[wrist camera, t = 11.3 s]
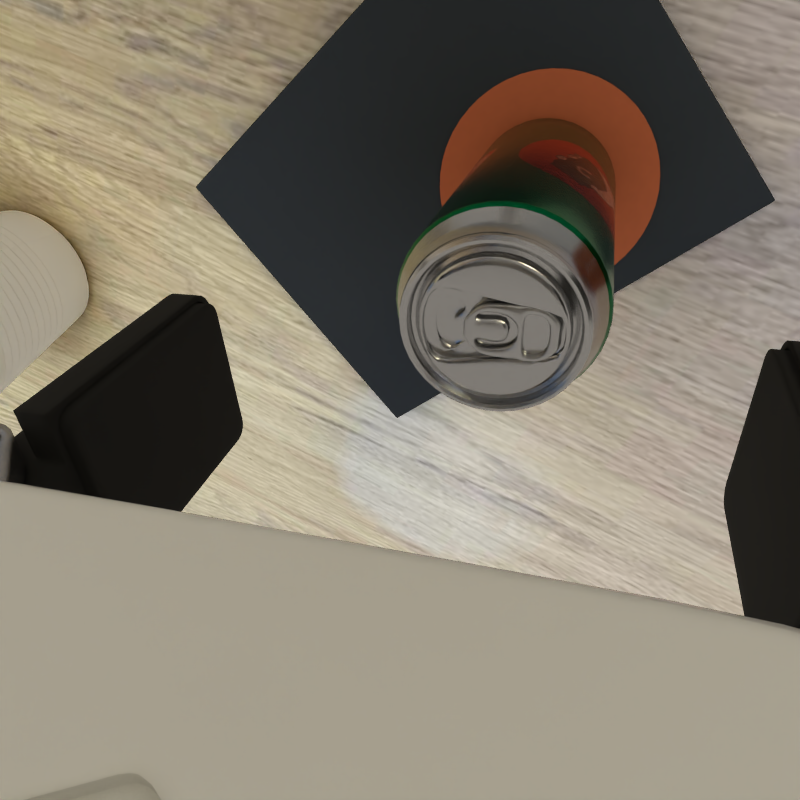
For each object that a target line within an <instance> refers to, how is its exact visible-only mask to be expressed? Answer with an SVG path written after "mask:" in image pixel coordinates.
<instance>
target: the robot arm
mask: <svg viewBox="0 0 800 800" xmlns="http://www.w3.org/2000/svg"><path fill="white" fill-rule="evenodd" d="M13 411H14V413H15V415H16V417H17V419H18V421H19V424H20V426H21V428H22V430H23V431H21V432H20V433H19V434H18V435H16V436H15V437H14V435H13V433H12V431H11V429H10V428H8V427H7V426H6V425H4V424H0V800H800V342H798V341H786V342H785V343H784V344H783V346H782V348H781V350H777V349H770V350H769V351H768V352H767V354H766V356H765V359H764V362H763V365H762V369H761V372H760V375H759V378H758V382H757V385H756V388H755V391H754V395H753V398H752V401H751V404H750V408H749V411H748V414H747V418H746V421H745V424H744V427H743V431H742V434H741V437H740V440H739V444H738V447H737V450H736V453H735V457H734V460H733V463H732V467H731V470H730V473H729V476H728V480H727V483H726V487H725V493H724V509H725V514H726V519H727V525H728V530H729V535H730V541H731V546H732V552H733V557H734V562H735V568H736V573H737V578H738V584H739V589H740V594H741V600H742V605H743V610H744V616H741V615H736V614H732V613H727V612H722V611H718V610H713V609H708V608H704V607H699V606H694V605H689V604H685V603H680V602H675V601H671V600H665V599H660V598H655V597H649V596H644V595H638V594H633V593H627V592H622V591H617V590H611V589H606V588H600V587H595V586H589V585H584V584H579V583H573V582H568V581H562V580H557V579H551V578H546V577H541V576H535V575H530V574H524V573H519V572H513V571H508V570H503V569H497V568H492V567H486V566H481V565H475V564H470V563H465V562H459V561H453V560H448V559H442V558H437V557H431V556H425V555H420V554H414V553H409V552H403V551H397V550H392V549H386V548H381V547H375V546H369V545H364V544H358V543H353V542H347V541H341V540H336V539H330V538H325V537H319V536H314V535H308V534H302V533H297V532H291V531H286V530H280V529H274V528H269V527H263V526H258V525H252V524H247V523H241V522H235V521H230V520H224V519H219V518H213V517H208V516H202V515H196V514H191V513H185V512H181V511H182V510H183V509H184V507H185V506H186V505H187V504H188V502H189V501H190V500H191V499H192V497H193V496H194V495H195V493H196V492H197V491H198V490H199V488H200V487H201V486H202V485H203V483H204V482H205V481H206V480H207V478H208V477H209V476H210V475H211V473H212V472H213V471H214V470H215V468H216V467H217V466H218V465H219V463H220V462H221V461H222V460H223V458H224V457H225V456H226V455H227V453H228V452H229V451H230V450H231V448H232V447H233V446H234V445H235V443H236V442H237V441H238V439H239V438H240V436H241V433H242V429H243V421H242V416H241V412H240V408H239V404H238V400H237V395H236V391H235V387H234V383H233V379H232V375H231V370H230V366H229V362H228V358H227V354H226V349H225V345H224V341H223V337H222V333H221V329H220V324H219V320H218V316H217V312H216V310H215V308H214V307H213V306H212V305H211V304H209V303H208V302H207V300H206V299H205V298H204V297H202V296H197V295H184V294H171V295H169V296H167V297H166V298H165V299H163V300H162V301H161V302H159V303H158V304H156V305H155V306H154V307H152V308H151V309H150V310H148V311H147V312H146V313H144V314H143V315H142V316H140V317H139V318H138V319H136V320H135V321H134V322H132V323H131V324H129V325H128V326H127V327H125V328H124V329H123V330H121V331H120V332H119V333H117V334H116V335H115V336H113V337H112V338H111V339H109V340H108V341H107V342H105V343H104V344H102V345H101V346H100V347H98V348H97V349H96V350H94V351H93V352H92V353H90V354H89V355H88V356H86V357H85V358H84V359H82V360H81V361H80V362H78V363H77V364H76V365H74V366H73V367H71V368H70V369H69V370H67V371H66V372H65V373H63V374H62V375H61V376H59V377H58V378H57V379H55V380H54V381H53V382H51V383H50V384H49V385H47V386H46V387H44V388H43V389H42V390H40V391H39V392H38V393H36V394H35V395H34V396H32V397H31V398H30V399H28V400H27V401H26V402H24V403H23V404H22V405H20V406H19V407H17V408H16V409H15V410H13Z"/></svg>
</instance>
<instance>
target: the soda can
mask: <svg viewBox="0 0 800 800" xmlns="http://www.w3.org/2000/svg"><path fill="white" fill-rule="evenodd" d="M615 200H616V182H615V173H614V169H613V165H612V162H611V160H610V157H609V155H608V153H607V151H606V150H605V148H604V147H603V145H602V144H601V142H600V141H599V140H598V139H597V138H596V137H595V136H594V135H593V134H592V133H590V132H589V131H587V130H586V129H585V128H583V127H581V126H579V125H577V124H575V123H573V122H569V121H566V120H562V119H555V118H541V119H534V120H530V121H526V122H523V123H521V124H518V125H516V126H514V127H513V128H511V129H509V130H508V131H506V132H505V133H503V134H502V135H501V136H500V137H499V138H497V139H496V140H495V141H494V143H493V144H492V145H491V146H490V147H489V148H488V150H487V151H486V152H485V153H484V155H483V156H482V157H481V158H480V160H479V161H478V162H477V163H476V165H475V166H474V167H473V168H472V170H471V171H470V172H469V174H468V175H467V176H466V177H465V179H464V180H463V181H462V182H461V184H460V185H459V186H458V187H457V189H456V190H455V191H454V192H453V194H452V195H451V196H450V198H449V199H448V200H447V201H446V203H445V204H444V205H443V206H442V208H441V209H440V210H439V211H438V213H437V214H436V215H435V216H434V218H433V219H432V220H431V222H430V223H429V224H428V225H427V227H426V228H425V229H424V230H423V232H422V233H421V234H420V235H419V237H418V238H417V239H416V240H415V242H414V243H413V245H412V247H411V248H410V250H409V251H408V253H407V255H406V257H405V259H404V262H403V264H402V267H401V269H400V273H399V278H398V282H397V293H396V303H397V312H398V317H399V323H400V332H401V336H402V340H403V344H404V347H405V349H406V351H407V354H408V356H409V358H410V360H411V361H412V363H413V364H414V366H415V368H416V369H417V370H418V372H419V373H420V374H421V375H422V376H423V377H424V379H425V380H426V381H428V382H429V383H430V384H431V385H432V386H433V387H434V388H435V389H437V390H438V391H440V392H441V393H443V394H444V395H446V396H447V397H449V398H451V399H453V400H455V401H457V402H459V403H462V404H465V405H468V406H470V407H473V408H478V409H483V410H490V411H515V410H520V409H525V408H530V407H533V406H535V405H538V404H541V403H543V402H545V401H547V400H549V399H551V398H553V397H555V396H556V395H557V394H559V393H560V392H561V391H563V390H564V389H566V387H567V386H568V385H569V384H570V383H571V382H573V381H574V380H575V379H577V378H578V377H579V376H581V375H582V374H583V373H584V372H585V371H586V370H587V369H588V368H589V367H590V365H591V364H592V363H593V362H594V360H595V359H596V357H597V356H598V355H599V353H600V352H601V350H602V348H603V346H604V344H605V341H606V339H607V337H608V334H609V330H610V327H611V323H612V316H613V304H614V252H615Z"/></svg>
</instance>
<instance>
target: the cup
mask: <svg viewBox="0 0 800 800" xmlns="http://www.w3.org/2000/svg"><path fill="white" fill-rule="evenodd" d="M88 298H89V286H88V281H87V276H86V272H85V269H84V267H83V264H82V262H81V260H80V258H79V256H78V254H77V253H76V251H75V250H74V248H73V247H72V246H71V244H70V243H69V242H68V241H67V240H66V239H65V237H64V236H63V235H62V234H61V233H59V232H58V231H57V230H56V229H55V228H53V227H52V226H51V225H49V224H48V223H47V222H45V221H43V220H42V219H40V218H38V217H36V216H34V215H31V214H29V213H27V212H22V211H17V210H8V211H0V393H1V392H2V391H3V390H4V389H5V388H7V387H8V386H9V385H10V384H11V382H13V381H14V380H15V379H16V378H17V377H18V376H19V375H20V374H21V373H22V372H23V371H24V370H25V369H26V368H27V367H28V366H29V365H30V364H31V363H32V362H34V360H35V359H36V358H37V357H39V356H40V355H41V354H42V353H43V352H44V351H45V350H46V349H47V348H48V347H49V346H50V345H51V344H52V343H53V342H54V341H55V340H56V339H58V338H59V337H60V336H61V335H62V334H63V333H64V332H65V331H66V330H67V329H68V328H69V327H70V326H71V325H72V324H73V323H74V322H75V321H76V320H77V319H78V318H79V317H80V316H81V315H82V314H83V313H84V311H85V309H86V307H87V303H88Z"/></svg>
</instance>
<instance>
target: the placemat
mask: <svg viewBox="0 0 800 800" xmlns="http://www.w3.org/2000/svg"><path fill="white" fill-rule="evenodd" d="M541 118H555V119H562V120H566V121H569V122H573V123H575V124H577V125H579V126H581V127H583V128H585V129H586V130H587V131H589V132H590V133H592V134H593V135H594V136H595V137H596V138H597V139H598V140H599V141H600V142H601V144H602V145H603V147H604V148H605V150H606V151H607V153H608V155H609V157H610V160H611V162H612V165H613V169H614V173H615V182H616V200H615V252H614V293H615V292H617V291H619V290H620V289H622V288H624V287H626V286H627V285H629V284H631V283H633V282H634V281H636V280H638V279H640V278H641V277H643V276H645V275H647V274H648V273H650V272H652V271H653V270H655V269H657V268H659V267H660V266H662V265H664V264H666V263H667V262H669V261H671V260H673V259H674V258H676V257H678V256H680V255H681V254H683V253H685V252H687V251H688V250H690V249H692V248H693V247H695V246H697V245H699V244H700V243H702V242H704V241H706V240H707V239H709V238H711V237H713V236H714V235H716V234H718V233H720V232H721V231H723V230H725V229H726V228H728V227H730V226H732V225H733V224H735V223H737V222H739V221H740V220H742V219H744V218H746V217H747V216H749V215H751V214H753V213H754V212H756V211H758V210H760V209H761V208H763V207H765V206H766V205H768V204H770V203H772V202H773V201H774V198H773V196H772V194H771V192H770V191H769V189H768V187H767V186H766V184H765V182H764V180H763V179H762V177H761V175H760V174H759V172H758V170H757V168H756V167H755V165H754V163H753V161H752V160H751V158H750V156H749V155H748V153H747V151H746V149H745V148H744V146H743V144H742V143H741V141H740V139H739V137H738V136H737V134H736V132H735V131H734V129H733V127H732V125H731V124H730V122H729V120H728V118H727V117H726V115H725V113H724V112H723V110H722V108H721V106H720V105H719V103H718V101H717V100H716V98H715V96H714V94H713V93H712V91H711V89H710V87H709V86H708V84H707V82H706V81H705V79H704V77H703V75H702V74H701V72H700V70H699V69H698V67H697V65H696V63H695V62H694V60H693V58H692V56H691V55H690V53H689V51H688V50H687V48H686V46H685V44H684V43H683V41H682V39H681V38H680V36H679V34H678V32H677V31H676V29H675V27H674V26H673V24H672V22H671V20H670V19H669V17H668V15H667V13H666V12H665V10H664V8H663V7H662V5H661V3H660V1H659V0H364V1H363V3H362V4H361V5H360V6H359V7H358V8H357V9H356V10H355V11H354V12H353V14H352V15H351V16H350V17H349V18H348V19H347V20H346V21H345V22H344V24H343V25H342V26H341V27H340V28H339V29H338V30H337V31H336V32H335V34H334V35H333V36H332V37H331V38H330V39H329V40H328V41H327V42H326V43H325V45H324V46H323V47H322V48H321V49H320V50H319V51H318V52H317V53H316V55H315V56H314V57H313V58H312V59H311V60H310V61H309V62H308V63H307V64H306V66H305V67H304V68H303V69H302V70H301V71H300V72H299V73H298V74H297V76H296V77H295V78H294V79H293V80H292V81H291V82H290V83H289V84H288V86H287V87H286V88H285V89H284V90H283V91H282V92H281V93H280V94H279V95H278V97H277V98H276V99H275V100H274V101H273V102H272V103H271V104H270V105H269V107H268V108H267V109H266V110H265V111H264V112H263V113H262V114H261V115H260V117H259V118H258V119H257V120H256V121H255V122H254V123H253V124H252V125H251V126H250V128H249V129H248V130H247V131H246V132H245V133H244V134H243V135H242V136H241V138H240V139H239V140H238V141H237V142H236V143H235V144H234V145H233V146H232V148H231V149H230V150H229V151H228V152H227V153H226V154H225V155H224V156H223V157H222V159H221V160H220V161H219V162H218V163H217V164H216V165H215V166H214V167H213V169H212V170H211V171H210V172H209V173H208V174H207V175H206V176H205V177H204V178H203V180H202V181H201V182H200V183H199V184H198V185H197V186H196V188H197V189H198V190H199V191H200V193H201V194H202V195H203V196H204V197H205V198H206V199H207V201H208V202H209V203H210V204H211V205H212V206H213V207H214V209H215V210H216V211H217V212H218V213H219V214H220V215H221V217H222V218H223V219H224V220H225V221H226V222H227V224H228V225H229V226H230V227H231V228H232V229H233V230H234V232H235V233H236V234H237V235H238V236H239V237H240V238H241V240H242V241H243V242H244V243H245V244H246V245H247V246H248V248H249V249H250V250H251V251H252V252H253V253H254V255H255V256H256V257H257V258H258V259H259V260H260V261H261V263H262V264H263V265H264V266H265V267H266V268H267V269H268V271H269V272H270V273H271V274H272V275H273V276H274V277H275V279H276V280H277V281H278V282H279V283H280V284H281V285H282V287H283V288H284V289H285V290H286V291H287V292H288V294H289V295H290V296H291V297H292V298H293V299H294V300H295V302H296V303H297V304H298V305H299V306H300V307H301V308H302V310H303V311H304V312H305V313H306V314H307V315H308V316H309V318H310V319H311V320H312V321H313V322H314V323H315V324H316V326H317V327H318V328H319V329H320V330H321V331H322V333H323V334H324V335H325V336H326V337H327V338H328V339H329V341H330V342H331V343H332V344H333V345H334V346H335V347H336V349H337V350H338V351H339V352H340V353H341V354H342V355H343V357H344V358H345V359H346V360H347V361H348V362H349V364H350V365H351V366H352V367H353V368H354V369H355V370H356V372H357V373H358V374H359V375H360V376H361V377H362V378H363V380H364V381H365V382H366V383H367V384H368V385H369V386H370V388H371V389H372V390H373V391H374V392H375V393H376V394H377V396H378V397H379V398H380V399H381V400H382V401H383V403H384V404H385V405H386V406H387V407H388V408H389V409H390V411H391V412H392V413H393V414H394V415H395V416H396V417H397V418H398V417H400V416H401V415H403V414H405V413H407V412H408V411H410V410H412V409H414V408H415V407H417V406H419V405H421V404H422V403H424V402H426V401H427V400H429V399H431V398H433V397H434V396H436V395H438V394H440V393H441V392H440V391H438V390H437V389H435V388H434V387H433V386H432V385H431V384H430V383H429V382H428V381H426V380H425V379H424V377H423V376H422V375H421V374H420V373H419V372H418V370H417V369H416V368H415V366H414V364H413V363H412V361H411V360H410V358H409V356H408V354H407V351H406V349H405V347H404V344H403V340H402V336H401V332H400V323H399V317H398V312H397V303H396V293H397V282H398V278H399V273H400V269H401V267H402V264H403V262H404V259H405V257H406V255H407V253H408V251H409V250H410V248H411V247H412V245H413V243H414V242H415V240H416V239H417V238H418V237H419V235H420V234H421V233H422V232H423V230H424V229H425V228H426V227H427V225H428V224H429V223H430V222H431V220H432V219H433V218H434V216H435V215H436V214H437V213H438V211H439V210H440V209H441V208H442V206H443V205H444V204H445V203H446V201H447V200H448V199H449V198H450V196H451V195H452V194H453V192H454V191H455V190H456V189H457V187H458V186H459V185H460V184H461V182H462V181H463V180H464V179H465V177H466V176H467V175H468V174H469V172H470V171H471V170H472V168H473V167H474V166H475V165H476V163H477V162H478V161H479V160H480V158H481V157H482V156H483V155H484V153H485V152H486V151H487V150H488V148H489V147H490V146H491V145H492V144H493V143H494V141H495V140H496V139H497V138H499V137H500V136H501V135H502V134H503V133H505V132H506V131H508V130H509V129H511V128H513V127H514V126H516V125H518V124H521V123H523V122H526V121H530V120H534V119H541Z"/></svg>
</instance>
